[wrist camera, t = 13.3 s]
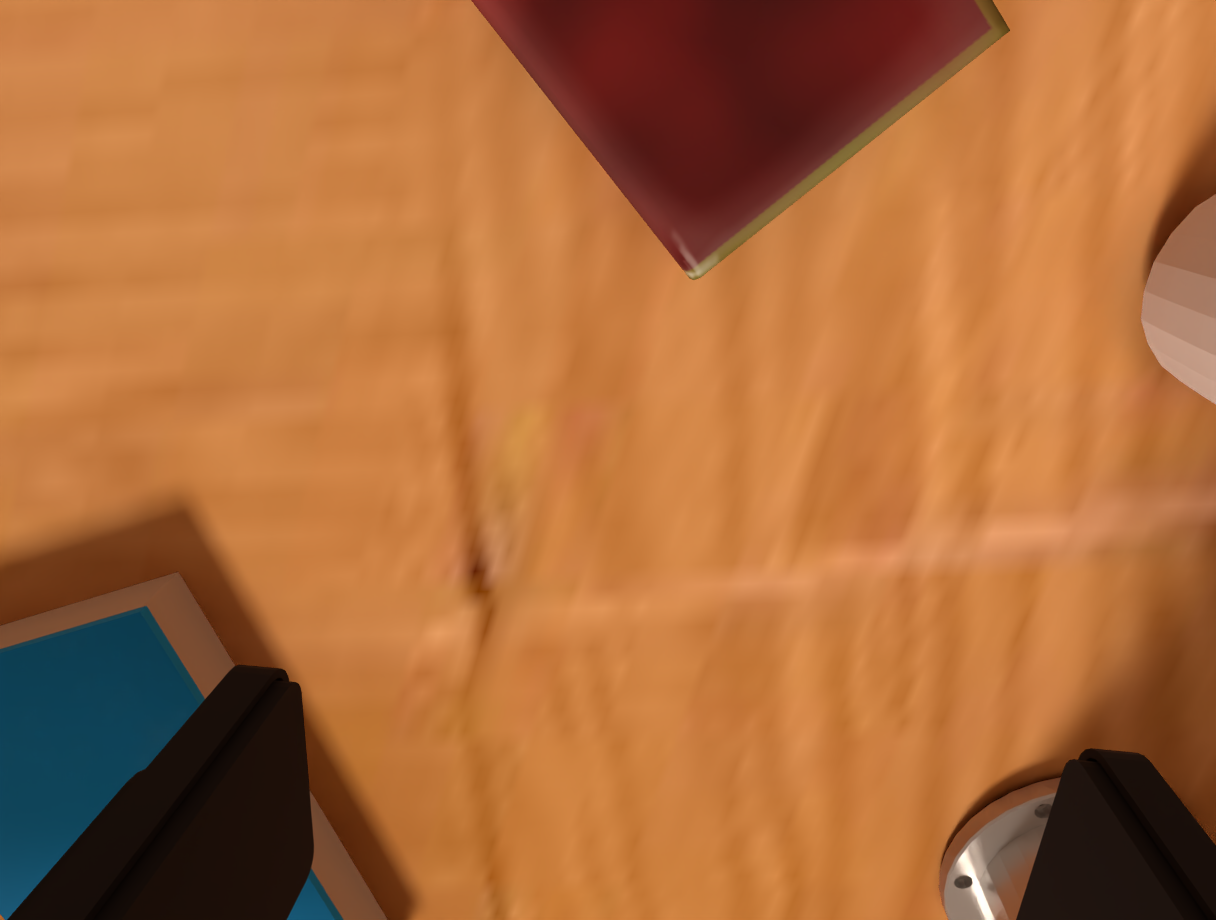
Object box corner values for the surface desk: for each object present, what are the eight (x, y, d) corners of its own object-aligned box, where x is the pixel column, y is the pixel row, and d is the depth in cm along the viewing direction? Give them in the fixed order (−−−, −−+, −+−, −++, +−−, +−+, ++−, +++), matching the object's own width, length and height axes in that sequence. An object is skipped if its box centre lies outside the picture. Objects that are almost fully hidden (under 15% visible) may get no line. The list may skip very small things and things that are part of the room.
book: (137, 606, 34) (393, 1013, 42) (192, 556, 38) (416, 936, 46) (-190, 708, 37) (110, 1070, 45) (-107, 652, 41) (154, 993, 49)
